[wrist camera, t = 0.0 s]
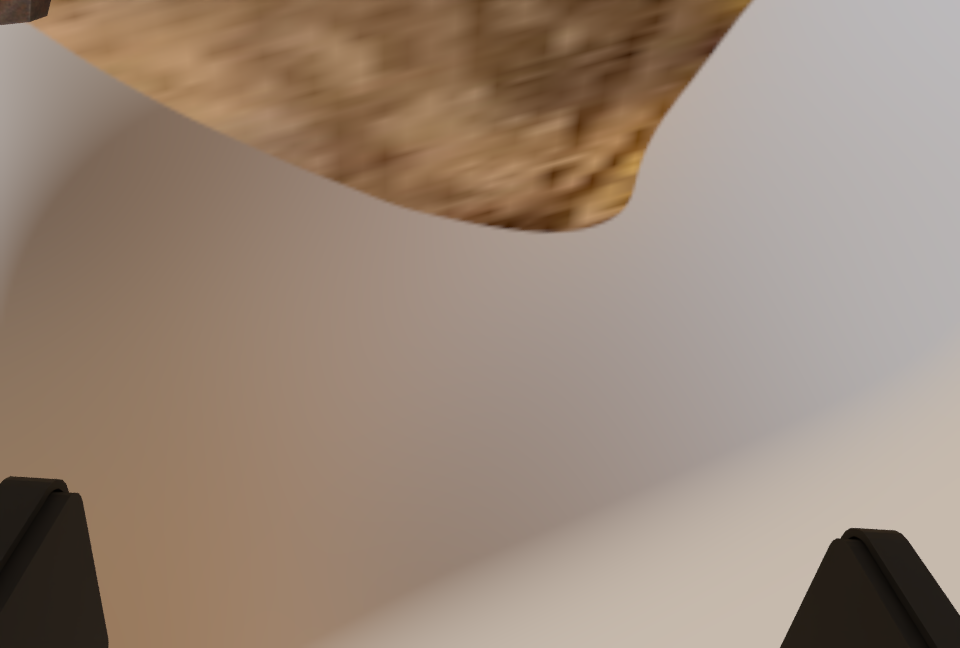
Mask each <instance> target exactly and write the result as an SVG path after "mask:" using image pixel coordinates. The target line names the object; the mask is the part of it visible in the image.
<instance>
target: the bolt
mask: <svg viewBox="0 0 960 648" xmlns="http://www.w3.org/2000/svg"><path fill="white" fill-rule="evenodd" d="M50 2H51V0H0V25H5V24H15V23H24V22H31V21H34V20H36V19H39V18H42V17H45V16H47V14H48V10H49V6H50Z"/></svg>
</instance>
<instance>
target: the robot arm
mask: <svg viewBox="0 0 960 648" xmlns="http://www.w3.org/2000/svg"><path fill="white" fill-rule="evenodd" d="M0 648H108V635H107V629H106V624H105V619H104V614H103V608H102V603H101V597H100V592H99V587H98V582H97V576H96V571H95V565H94V560H93V554H92V550H91V544H90V538H89V533H88V527H87V522H86V517H85V511H84V507H83V501H82V498H81V496H80V495H79V493H69V491H68V488H67V485H66V483H65V482H64V481H63V480H59V479H44V478H27V477H12V476H10V477H8V478H6V479H4V480H3V481H2V482H1V483H0ZM780 648H960V615H959V614H958V612H957V611H956V609H955V608H954V607H953V605H952V604H951V602H950V601H949V599H948V598H947V596H946V595H945V593H944V592H943V591H942V589H941V588H940V586H939V585H938V583H937V582H936V580H935V579H934V578H933V576H932V575H931V573H930V572H929V570H928V569H927V567H926V566H925V565H924V563H923V562H922V561H921V559H920V557H919V556H918V554H917V553H916V552H915V550H914V549H913V547H912V546H911V544H910V543H909V541H908V540H907V539H906V538H905V537H904V536H903V535H902V534H901V533H899V532H897V531H894V530H877V529H861V528H850V529H848V530H847V531H845V533H844V534H843V536H842V537H841V539H835V540H833V541H832V543H831V544H830V546H829V548H828V550H827V552H826V554H825V556H824V558H823V560H822V562H821V564H820V566H819V568H818V570H817V573H816V575H815V577H814V579H813V581H812V583H811V585H810V587H809V589H808V591H807V593H806V595H805V597H804V599H803V601H802V604H801V606H800V608H799V610H798V612H797V614H796V616H795V618H794V620H793V622H792V624H791V626H790V628H789V631H788V632H787V635H786V637H785V639H784V641H783V643H782V645H781V647H780Z"/></svg>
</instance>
